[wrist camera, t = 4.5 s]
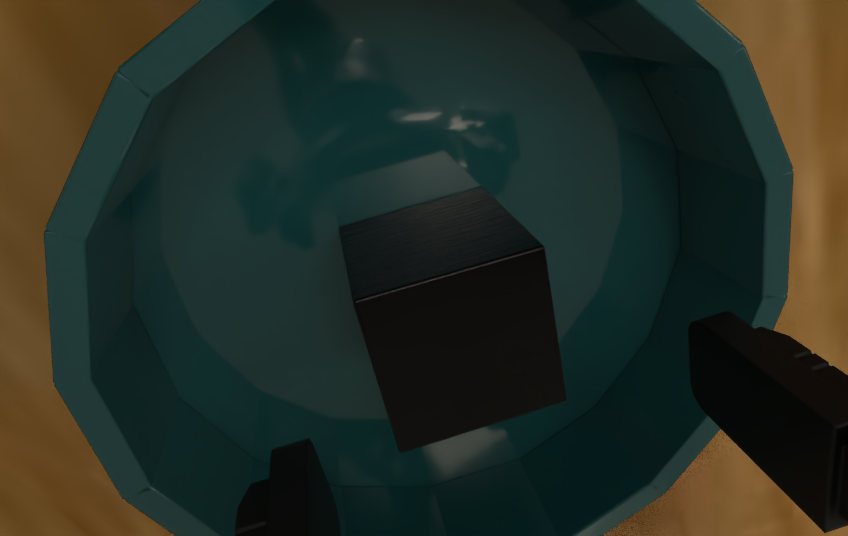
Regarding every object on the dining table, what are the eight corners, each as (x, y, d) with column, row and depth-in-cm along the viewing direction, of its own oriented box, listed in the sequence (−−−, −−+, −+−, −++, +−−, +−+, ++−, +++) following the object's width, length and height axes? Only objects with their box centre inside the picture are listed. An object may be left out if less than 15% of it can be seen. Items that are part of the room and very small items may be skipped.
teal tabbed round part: (262, 603, 24) (256, 723, 20) (-96, -95, 13) (-261, -137, 9) (700, 459, 25) (776, 543, 21) (681, -265, 15) (821, -362, 11)
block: (376, 351, 20) (400, 455, 15) (337, 226, 18) (352, 301, 13) (506, 312, 20) (568, 401, 16) (483, 185, 18) (545, 245, 14)
